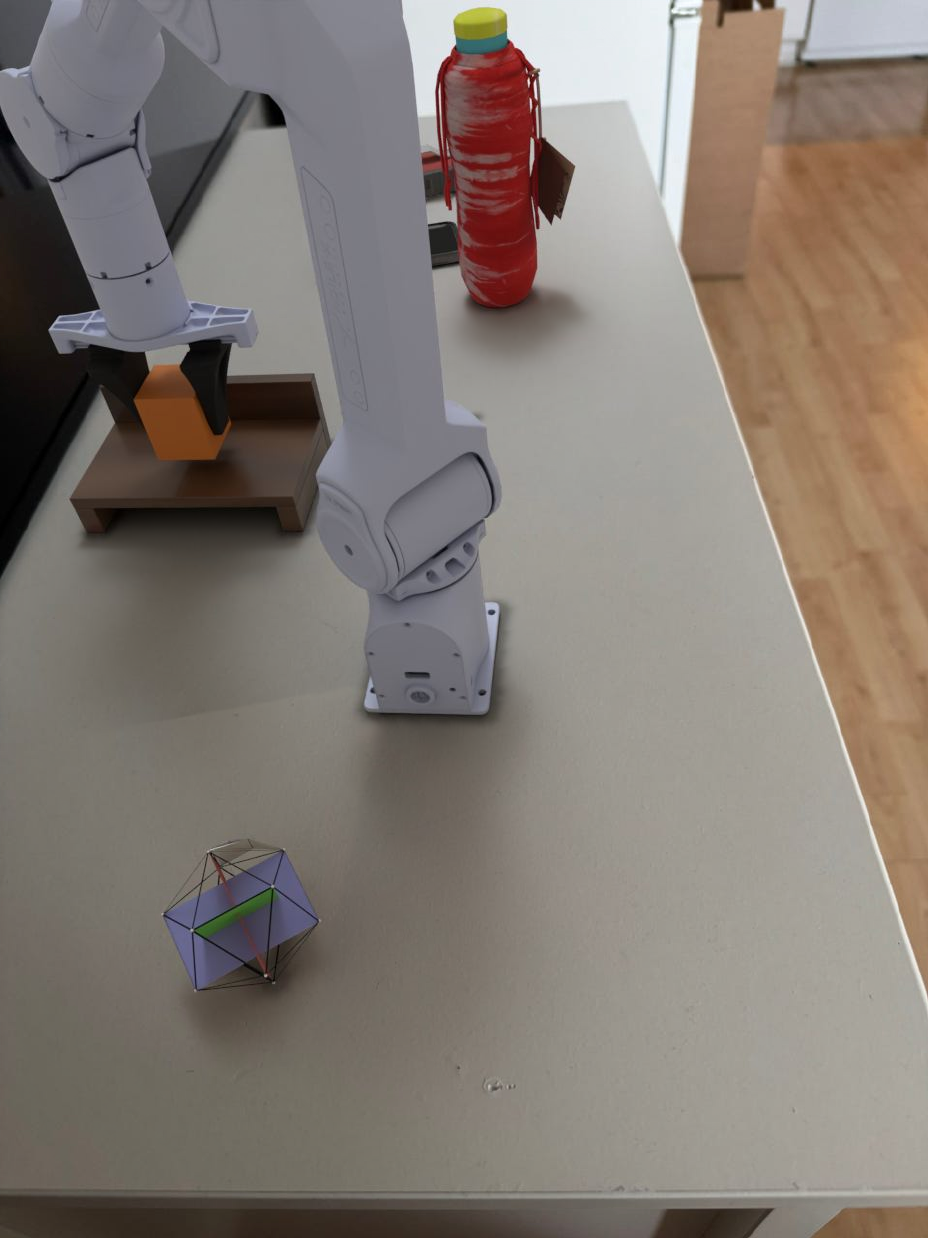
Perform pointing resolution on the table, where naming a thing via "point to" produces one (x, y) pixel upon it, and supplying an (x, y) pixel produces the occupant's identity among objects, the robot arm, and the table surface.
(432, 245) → the phone
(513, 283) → the water bottle
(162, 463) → the shelf
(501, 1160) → the table surface
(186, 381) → the orange cube-like block
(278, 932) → the geometric puzzle
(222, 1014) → the table surface
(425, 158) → the walkie-talkie
